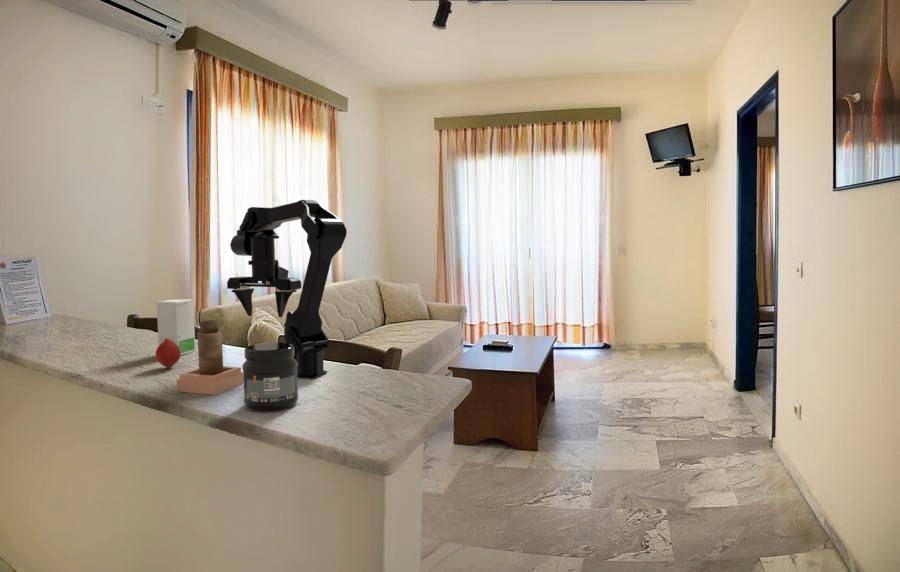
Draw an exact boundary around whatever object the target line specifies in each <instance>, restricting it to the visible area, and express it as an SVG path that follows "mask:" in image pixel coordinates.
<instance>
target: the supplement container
mask: <svg viewBox="0 0 900 572" xmlns="http://www.w3.org/2000/svg"><path fill="white" fill-rule="evenodd" d="M294 355H295V349H294V345H293V344H290V343H286V342H279V341H277V342H275V341H274V342H273V341H272V342H261V343H255V344H251V345H248V346H246V347H244V358H245V361H244V362H243V364H242V366H241V370H242V372H243V378H244V383H243V404H244V406H245V407H246V409H248V410H251V411H253V412H258V413H259V412H260V413H270V412H280V411H283V410H287V409H289V408H291V407H293V406H295V404H297V403H298V400H299V393H298V392H299V389H298V386H299V385H298V378H297V365H298V363H297V360H296V359H295V358H294V357H293V356H294Z"/></svg>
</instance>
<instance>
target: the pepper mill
mask: <svg viewBox="0 0 900 572" xmlns="http://www.w3.org/2000/svg"><path fill="white" fill-rule="evenodd" d="M199 323H200V324H199V325H200V326H199V327H200V331H198V332H197V333H196V334H197V335H196V336H197V351H198V353H197V354H198V356H197V357H198V368H199V374H200V375H212V376H214V375H216V374H219V373H222V372H223V366H224V357H223V356H224V355H223V353H224V352H223V338H222V337H223V333H222V330H219V322H218V320H217V319H206V320H201V321H200V322H199Z"/></svg>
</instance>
